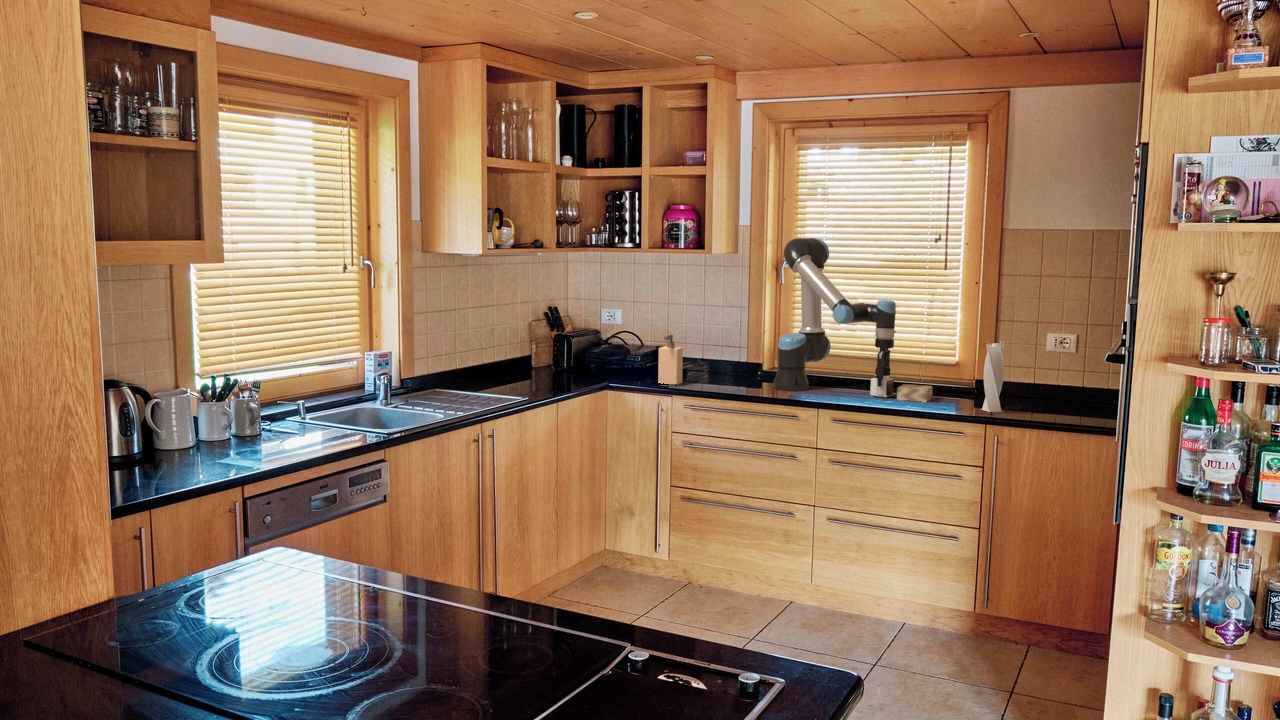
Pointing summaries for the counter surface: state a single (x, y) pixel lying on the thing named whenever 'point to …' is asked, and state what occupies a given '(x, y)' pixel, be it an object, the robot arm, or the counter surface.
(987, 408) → the skyscraper
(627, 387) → the counter surface
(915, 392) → the base block
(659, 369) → the soap dispenser
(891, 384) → the medicine bottle
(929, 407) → the counter surface
